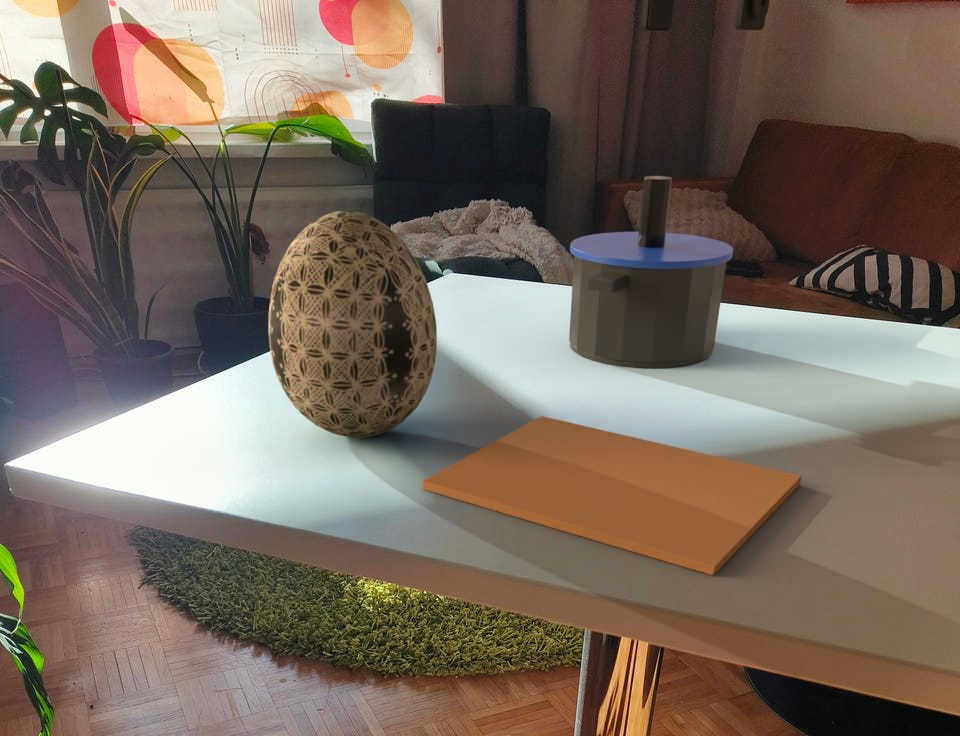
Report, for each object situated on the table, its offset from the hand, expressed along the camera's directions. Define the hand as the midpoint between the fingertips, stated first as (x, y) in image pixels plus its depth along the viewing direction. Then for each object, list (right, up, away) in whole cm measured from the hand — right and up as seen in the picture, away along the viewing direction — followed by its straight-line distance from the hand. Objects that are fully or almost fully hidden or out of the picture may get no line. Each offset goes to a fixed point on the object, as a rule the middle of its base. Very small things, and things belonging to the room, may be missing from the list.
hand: (700, 30), depth 75 cm
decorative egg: (-28, -36, -9) cm, 46 cm away
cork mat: (-10, -41, -17) cm, 46 cm away
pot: (-3, -23, +11) cm, 26 cm away
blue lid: (-3, -16, +6) cm, 18 cm away
